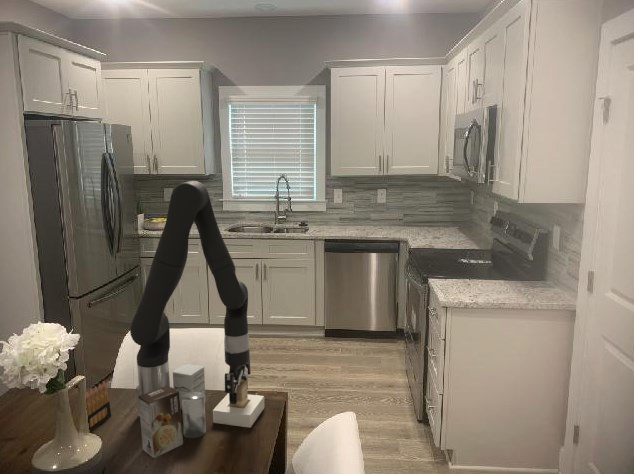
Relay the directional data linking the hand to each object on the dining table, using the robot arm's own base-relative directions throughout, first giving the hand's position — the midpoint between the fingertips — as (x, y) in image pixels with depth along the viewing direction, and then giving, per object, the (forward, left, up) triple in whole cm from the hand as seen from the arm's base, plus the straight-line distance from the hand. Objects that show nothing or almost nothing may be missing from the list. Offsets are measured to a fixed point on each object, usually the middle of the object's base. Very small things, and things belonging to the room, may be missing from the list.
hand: (238, 396), depth 155 cm
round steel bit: (-9, -12, -6) cm, 16 cm away
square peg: (0, 0, -6) cm, 6 cm away
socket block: (0, 0, -6) cm, 6 cm away
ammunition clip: (-40, -15, -6) cm, 43 cm away
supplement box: (-18, +2, -6) cm, 19 cm away
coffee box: (-14, -21, -6) cm, 26 cm away
